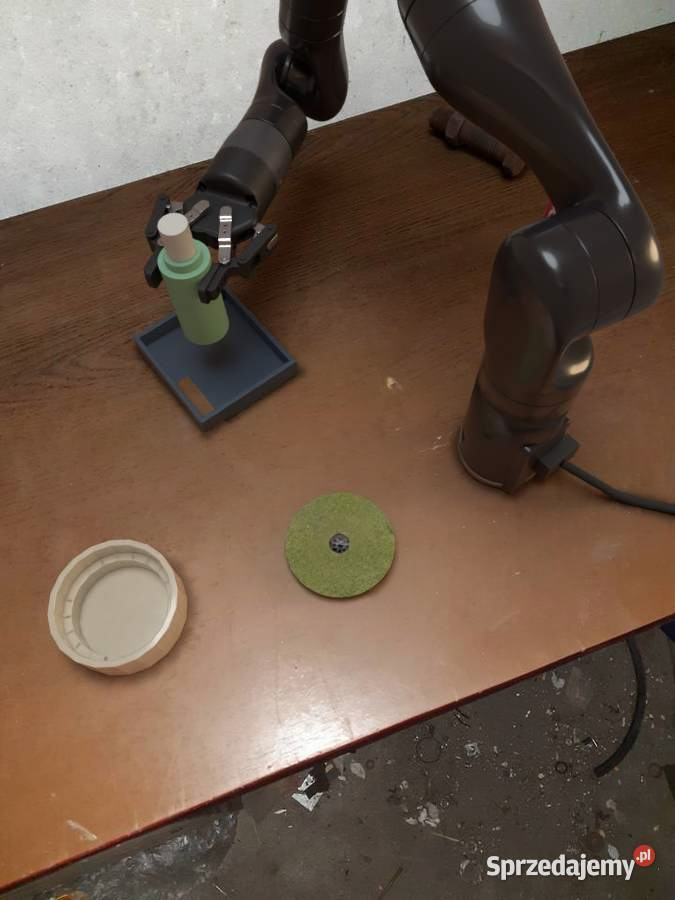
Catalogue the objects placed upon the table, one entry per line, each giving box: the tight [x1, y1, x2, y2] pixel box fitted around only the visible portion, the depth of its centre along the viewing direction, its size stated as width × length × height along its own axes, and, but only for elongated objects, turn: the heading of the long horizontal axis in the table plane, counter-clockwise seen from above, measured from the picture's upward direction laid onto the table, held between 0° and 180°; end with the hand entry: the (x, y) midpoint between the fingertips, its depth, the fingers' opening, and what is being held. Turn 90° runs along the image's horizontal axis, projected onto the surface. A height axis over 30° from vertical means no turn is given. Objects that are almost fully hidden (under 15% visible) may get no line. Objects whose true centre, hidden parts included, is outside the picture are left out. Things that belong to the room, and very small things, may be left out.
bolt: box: [427, 105, 527, 178], centre depth 97 cm, size 6×5×15 cm
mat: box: [284, 492, 396, 598], centre depth 71 cm, size 11×11×2 cm
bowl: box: [46, 539, 189, 676], centre depth 68 cm, size 12×12×5 cm
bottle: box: [158, 213, 229, 345], centre depth 71 cm, size 5×5×16 cm
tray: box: [132, 283, 299, 433], centre depth 82 cm, size 15×13×2 cm
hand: (176, 290), depth 68 cm, fingers closed on bottle, 5 cm apart
